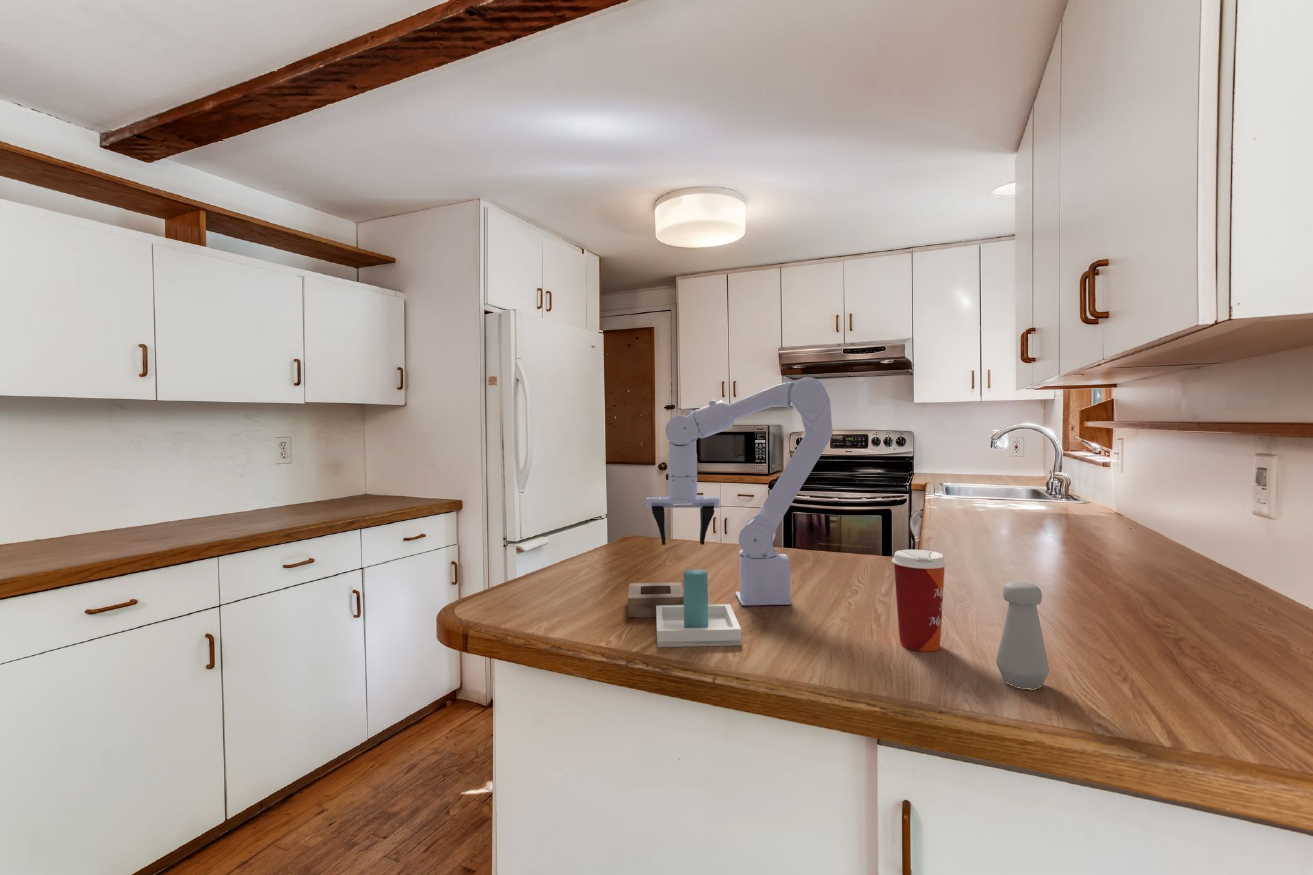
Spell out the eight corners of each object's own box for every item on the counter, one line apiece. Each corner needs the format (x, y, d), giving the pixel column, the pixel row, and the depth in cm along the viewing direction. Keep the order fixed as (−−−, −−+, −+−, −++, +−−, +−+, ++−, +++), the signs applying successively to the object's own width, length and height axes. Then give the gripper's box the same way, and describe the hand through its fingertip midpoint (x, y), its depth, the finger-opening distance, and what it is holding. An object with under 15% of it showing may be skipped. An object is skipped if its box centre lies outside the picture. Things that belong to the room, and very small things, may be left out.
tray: (730, 618, 106) (729, 604, 106) (741, 645, 93) (741, 629, 93) (656, 619, 105) (656, 605, 105) (657, 647, 92) (657, 631, 92)
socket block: (681, 600, 117) (681, 582, 117) (684, 616, 107) (683, 597, 107) (630, 601, 117) (629, 583, 117) (628, 617, 107) (627, 598, 107)
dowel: (706, 621, 101) (705, 569, 101) (710, 630, 97) (709, 575, 97) (682, 622, 101) (681, 570, 101) (685, 631, 97) (684, 576, 97)
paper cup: (954, 656, 87) (953, 560, 87) (897, 653, 88) (896, 558, 88) (939, 637, 94) (939, 549, 94) (888, 634, 96) (887, 547, 96)
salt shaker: (986, 675, 80) (986, 578, 80) (1027, 673, 81) (1026, 577, 80) (1016, 694, 74) (1016, 590, 74) (1060, 692, 75) (1059, 588, 75)
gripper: (646, 478, 115) (646, 548, 116) (721, 477, 116) (721, 547, 116) (646, 474, 123) (646, 540, 123) (717, 474, 123) (717, 540, 123)
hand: (682, 543), depth 120 cm, fingers open, 7 cm apart
